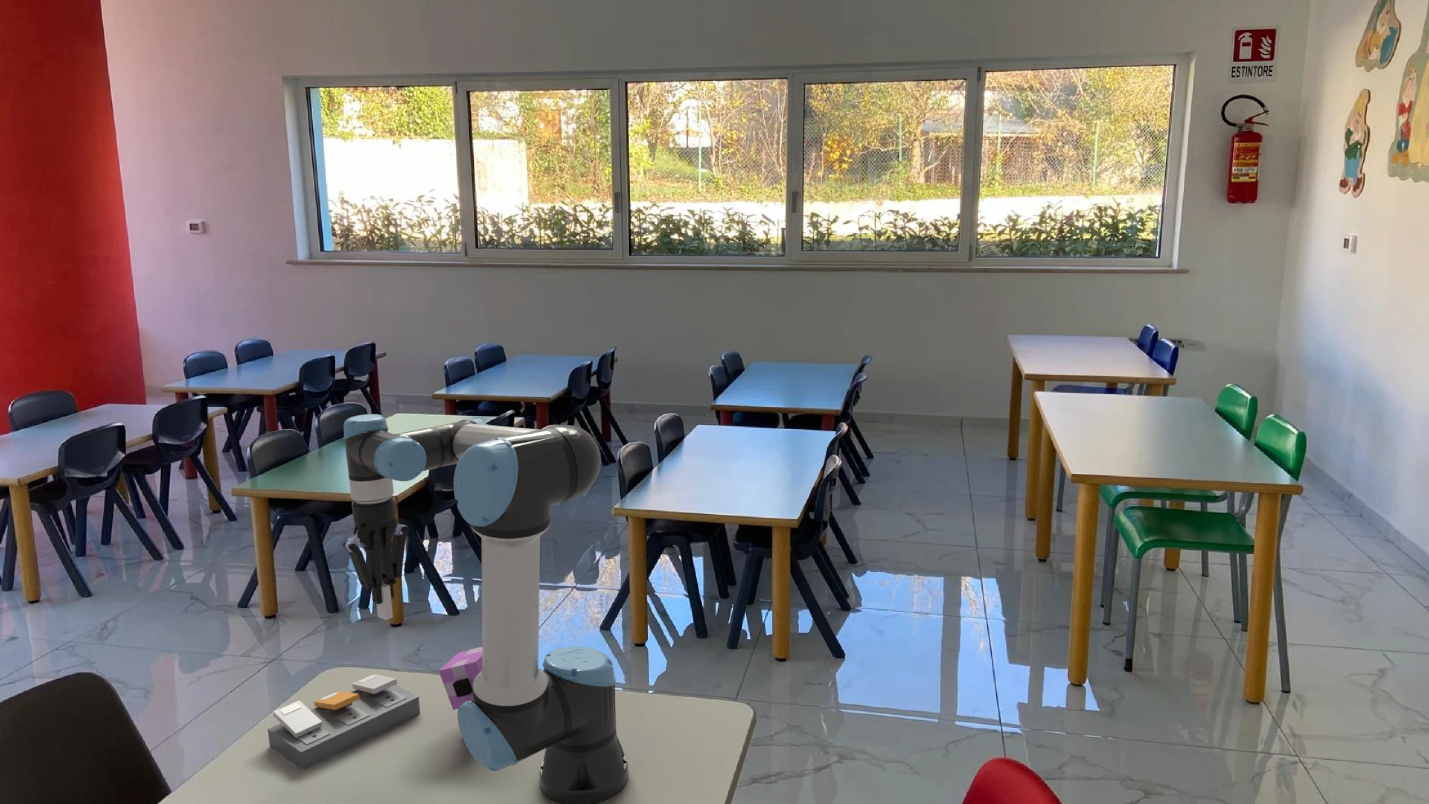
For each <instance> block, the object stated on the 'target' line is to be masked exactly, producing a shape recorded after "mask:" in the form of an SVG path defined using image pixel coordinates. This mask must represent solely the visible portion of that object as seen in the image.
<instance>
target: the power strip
mask: <svg viewBox="0 0 1429 804" xmlns="http://www.w3.org/2000/svg"><path fill="white" fill-rule="evenodd" d="M350 693H356V694H359V697H360V699H359V700H357V701H354V702H352V703H350V704H348V705H346V706H343V707H341V708H339V709H337V710H333V709H327V708H321V707H315V708H312V709H309V710H310V711H311V712H312V713H313V714H315V715H316V716H317V717H318V718H319V719H320V720H321V721H322V726H321V727H319V728H317V729H315V730H312V731H310V732H308V733H306V734H304V735H301V736H299V737H297V738H296V737H295V736H294V735H293V734H292V733H291V732H290V731H288V730H287V729H286V728H285V727H284V726H283V725H282V724H281V723H280V722H279V723H278V724H276V725H273V726H271V727H269V728H267V733H268V734H267V735H268V742H269V747H270V748H272V749H274V751H276V752H277V753H279V754H280V755H281V756H283V757H285V759H287V760H289V761H290V762H291V763H292V764H294V765H296V766H297V767H298V768H300V769H301V770H304V771H305V770H306V769H309V768H310V767H312V766H315V765H317V764H318V763H321V762H323V761H325V760H327V759H328V758H331V757H333V756H335V755H337V754H339V753H341V752H343V751H346V750H348V749H349V748H351V747H353V746H355V745H357V744H359V743H361V742H364V741H366V740H369V738H372V737H374V736H376V735H378V734H380V733H382V732H385V731H386V730H388V729H390V728H392V727H394V726H397V725H399V724H400V723H402V722H405V721H407V720H410V719H411V718H413V717H414V716H417V715H419V714H421V709H420V708H421V707H420V697H419V696H418V695H417V694H415V693H413V692H411V691H409V690H407V689H405V688H403V687H402V686H401V685H400V686H399V685H398V684H396V685H393V686H391V687H389V688H387V689H385V690H382V691H380V692H378V693H376V694H372V693H369V692H365V691H361V690H357V689H354V690H353V691H350Z"/></svg>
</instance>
